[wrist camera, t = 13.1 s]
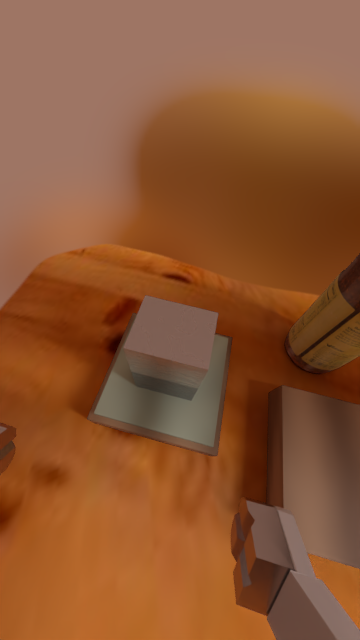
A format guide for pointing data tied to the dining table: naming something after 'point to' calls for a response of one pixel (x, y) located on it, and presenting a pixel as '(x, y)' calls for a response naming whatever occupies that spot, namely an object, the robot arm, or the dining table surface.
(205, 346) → the housing
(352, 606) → the dining table surface
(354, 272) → the sauce bottle
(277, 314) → the dining table surface
